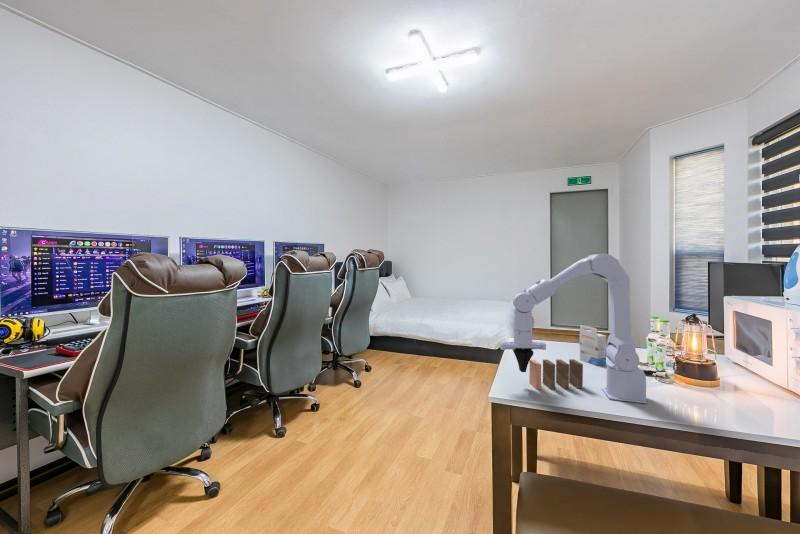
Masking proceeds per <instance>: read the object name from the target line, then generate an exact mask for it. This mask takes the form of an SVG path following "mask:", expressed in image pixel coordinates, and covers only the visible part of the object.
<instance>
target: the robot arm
mask: <svg viewBox="0 0 800 534" xmlns="http://www.w3.org/2000/svg"><path fill="white" fill-rule="evenodd" d="M583 275H584V276H585V275H594V276H597V277H599V278H600V279H602V280H603V281H605V282H606V283H608V296H609V297H608V298H609V299H608V300H609V301H608V302H609V307H608V308H609V335H608V337H607V341H606V347H605V350H604V352H605V355H606V359H608V361H606V387H602V388H601V390H602V391H603V392H604V394H605V396H606V397H607V398H608V399H609V400H613V401H623V402H629V403H630V402H631V403H637V404H647V403H648V402H647V378H646V377H647V376H646V375H645V373H644V371H643V370H644V369H641V368H639V369H637V368H636V367H638V365H639V362H640V357H639V354H638V353H637V351H636V345H635V342H634V341H633V338H632V335H631V333H632V332H631V331H632V330H631V329H632V327H631V289H630V288H631V285H630V283H631V281H630V276H629V275H628V273H627V272H626V271H625V269H624V268H623V266H622V265H621V264H620V260H619V259H618V258H616V257H614V256H612V255H611V254H610V253H609V254H608V253H598V254H596V253H593V254H590V255H587V256H586V257H584V258H581V259H579V260H578V261H576V262H574V263H572V264H571V265H570V266H568V267H566V268H565V269H563V270H562V271H560V272H559V273H558V274H556V275H555V276H553V277H552V278H550V279H543V278H542V279H541V280H540V279H538V280H537V279H536V280H535V284H533V285H532V286H530V287H528V288H527V289H526V288H524V289H523V290H522V292H520V293H517V294H516V295H515V296H514V298H513V300H512V304H513V306H514V310H513V341H507V342H500V343H499V349H500V350H501V351H505V350H512V352H513V353H514V356H515V358H516V362H517V364H518V370H519V371H520V372H521V373H526V372H527V369H528V366H529V364H530V360H532V359H531V358H532V357H533V355H534V350H544V351H546V350H547V344H546V343H545V342H538V341H533V309H534V307H535V305H536V306H537V305H539V304H540V303H542V302H544V301H546V300H548V298H551V297H553V296H554V295H555V293H556V289H557V288H559V287H560V286H562V285H564V284H565V283H568V282H570V281H571V280H573V279H575V278H576V277H579V276H583Z"/></svg>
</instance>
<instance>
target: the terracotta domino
mask: <svg viewBox="0 0 800 534" xmlns="http://www.w3.org/2000/svg"><path fill="white" fill-rule="evenodd" d="M528 383H529V384H530V386H532V387H533V388H534V389H535V390H542V364H541V363H540V362H539V361H537V360H536V359H530V361H529V382H528Z"/></svg>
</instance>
